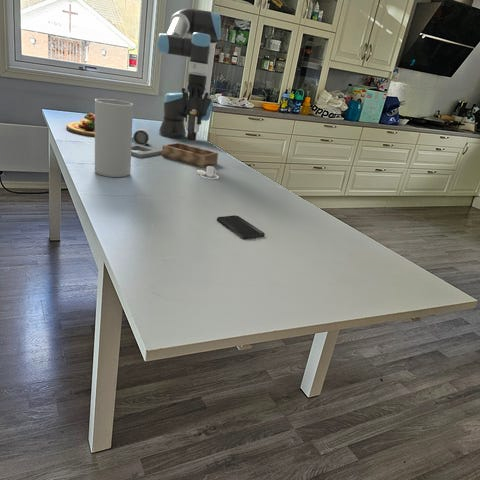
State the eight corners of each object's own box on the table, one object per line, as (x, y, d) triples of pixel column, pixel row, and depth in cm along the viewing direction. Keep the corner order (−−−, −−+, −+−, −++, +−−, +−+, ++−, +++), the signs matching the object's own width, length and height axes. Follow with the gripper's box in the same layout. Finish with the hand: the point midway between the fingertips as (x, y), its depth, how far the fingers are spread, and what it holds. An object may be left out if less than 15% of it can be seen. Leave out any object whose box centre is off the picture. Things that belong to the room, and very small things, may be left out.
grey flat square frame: (136, 146, 193) (136, 143, 192) (162, 153, 187) (162, 150, 187) (114, 150, 181) (114, 146, 180) (140, 158, 175) (140, 154, 174)
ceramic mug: (148, 143, 205) (149, 128, 202) (148, 146, 198) (148, 131, 195) (127, 141, 202) (127, 126, 200) (126, 144, 195) (126, 128, 193)
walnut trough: (161, 156, 184) (162, 145, 182) (177, 153, 194) (178, 142, 192) (202, 167, 175) (204, 156, 173) (217, 163, 185) (218, 152, 183)
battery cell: (190, 138, 183) (193, 108, 178) (197, 140, 182) (200, 110, 177) (185, 138, 180) (187, 108, 175) (192, 140, 178) (195, 110, 173)
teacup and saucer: (193, 174, 165) (195, 164, 163) (208, 172, 170) (209, 163, 169) (208, 180, 160) (209, 170, 158) (222, 178, 165) (224, 169, 164)
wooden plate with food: (64, 124, 220) (64, 108, 216) (124, 128, 234) (125, 113, 230) (69, 136, 194) (68, 119, 191) (136, 140, 208) (137, 124, 205)
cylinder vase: (137, 176, 150) (140, 105, 140) (106, 179, 141) (107, 104, 131) (118, 167, 157) (120, 99, 147) (88, 169, 148) (87, 98, 138)
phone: (237, 215, 125) (266, 234, 114) (236, 218, 126) (265, 238, 115) (215, 217, 121) (243, 237, 110) (214, 220, 121) (243, 241, 110)
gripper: (176, 70, 170) (171, 127, 179) (210, 76, 164) (203, 135, 173) (186, 71, 176) (181, 126, 185) (219, 77, 170) (212, 134, 179)
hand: (192, 130), depth 179 cm, fingers closed on battery cell, 4 cm apart
